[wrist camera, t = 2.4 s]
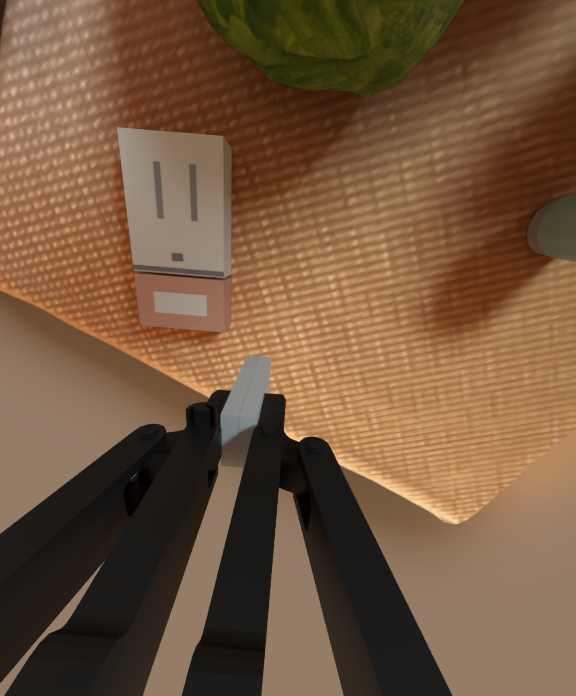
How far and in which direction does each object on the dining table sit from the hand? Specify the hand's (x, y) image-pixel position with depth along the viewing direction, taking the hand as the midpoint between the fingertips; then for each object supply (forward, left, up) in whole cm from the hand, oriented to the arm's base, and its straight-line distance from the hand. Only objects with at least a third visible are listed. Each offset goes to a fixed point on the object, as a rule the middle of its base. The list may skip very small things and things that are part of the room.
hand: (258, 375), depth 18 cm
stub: (-1, -11, -18) cm, 21 cm away
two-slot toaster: (-11, -11, -18) cm, 24 cm away
